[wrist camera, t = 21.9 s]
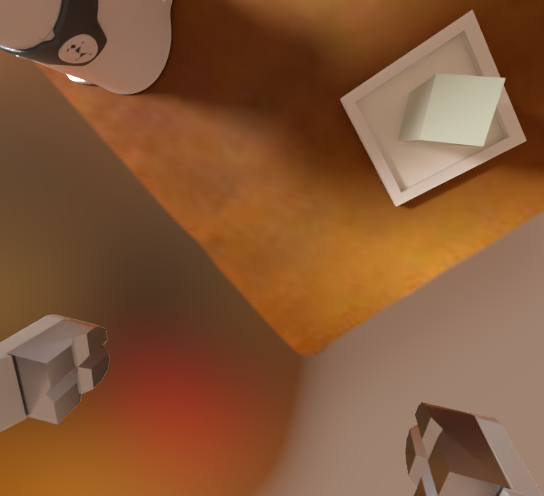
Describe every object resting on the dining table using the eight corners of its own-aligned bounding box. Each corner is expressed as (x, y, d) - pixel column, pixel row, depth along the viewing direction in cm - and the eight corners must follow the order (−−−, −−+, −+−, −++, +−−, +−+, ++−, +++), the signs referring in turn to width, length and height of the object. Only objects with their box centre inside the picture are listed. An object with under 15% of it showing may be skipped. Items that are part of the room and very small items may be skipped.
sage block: (398, 141, 35) (419, 139, 26) (409, 93, 33) (436, 73, 24) (443, 145, 34) (483, 146, 25) (458, 96, 32) (505, 78, 23)
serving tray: (340, 100, 36) (340, 98, 34) (464, 17, 31) (472, 9, 29) (393, 203, 38) (396, 206, 36) (516, 140, 33) (526, 140, 31)
